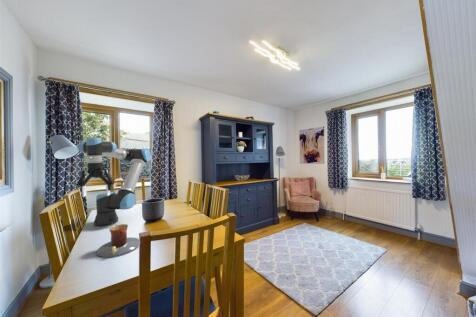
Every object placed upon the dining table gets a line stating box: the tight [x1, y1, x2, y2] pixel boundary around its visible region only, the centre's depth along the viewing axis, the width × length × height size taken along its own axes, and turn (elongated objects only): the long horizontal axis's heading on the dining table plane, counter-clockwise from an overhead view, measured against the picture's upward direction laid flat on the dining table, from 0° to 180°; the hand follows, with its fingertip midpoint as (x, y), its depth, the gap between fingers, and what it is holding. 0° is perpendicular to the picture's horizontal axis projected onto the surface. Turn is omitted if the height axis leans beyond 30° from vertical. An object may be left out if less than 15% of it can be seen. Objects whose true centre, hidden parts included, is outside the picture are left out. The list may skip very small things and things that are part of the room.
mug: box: [108, 223, 129, 248], centre depth 101 cm, size 12×9×10 cm
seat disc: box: [96, 237, 140, 259], centre depth 102 cm, size 20×20×5 cm
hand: (96, 195), depth 116 cm, fingers open, 13 cm apart
